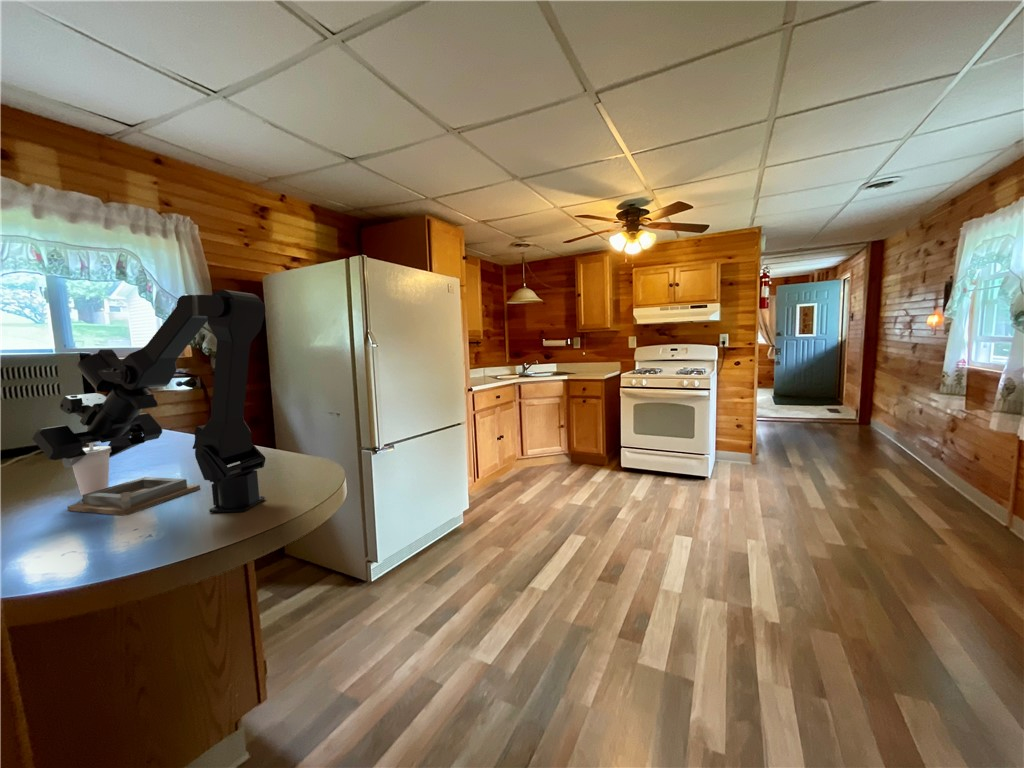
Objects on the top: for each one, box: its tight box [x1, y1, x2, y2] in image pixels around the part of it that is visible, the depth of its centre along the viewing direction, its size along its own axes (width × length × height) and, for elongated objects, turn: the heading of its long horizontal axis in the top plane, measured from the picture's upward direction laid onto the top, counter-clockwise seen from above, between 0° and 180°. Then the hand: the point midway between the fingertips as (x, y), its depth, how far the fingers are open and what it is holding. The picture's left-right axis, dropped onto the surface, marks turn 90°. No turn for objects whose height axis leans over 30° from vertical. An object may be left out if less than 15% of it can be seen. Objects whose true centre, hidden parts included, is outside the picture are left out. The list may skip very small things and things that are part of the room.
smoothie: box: [71, 443, 112, 500], centre depth 84 cm, size 6×6×14 cm
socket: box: [67, 476, 201, 516], centre depth 82 cm, size 14×14×4 cm
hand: (86, 461), depth 84 cm, fingers closed on smoothie, 6 cm apart
